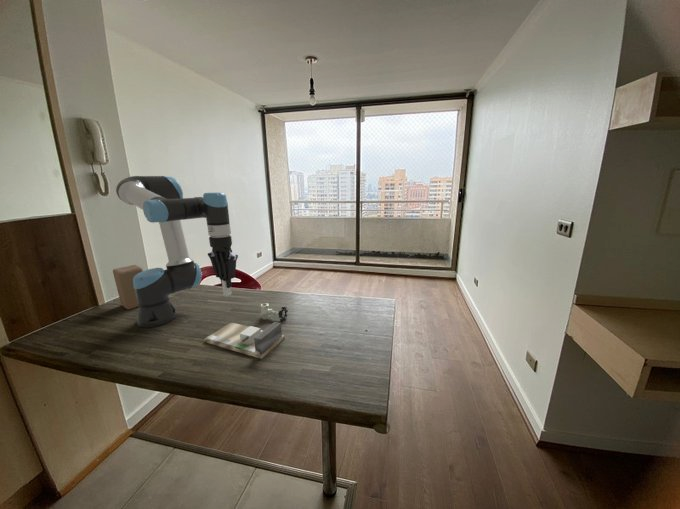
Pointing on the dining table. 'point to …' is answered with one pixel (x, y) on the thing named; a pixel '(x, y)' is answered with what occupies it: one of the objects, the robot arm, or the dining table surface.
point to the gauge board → (258, 348)
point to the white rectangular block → (249, 334)
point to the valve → (272, 312)
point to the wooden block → (127, 285)
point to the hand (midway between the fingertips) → (227, 294)
